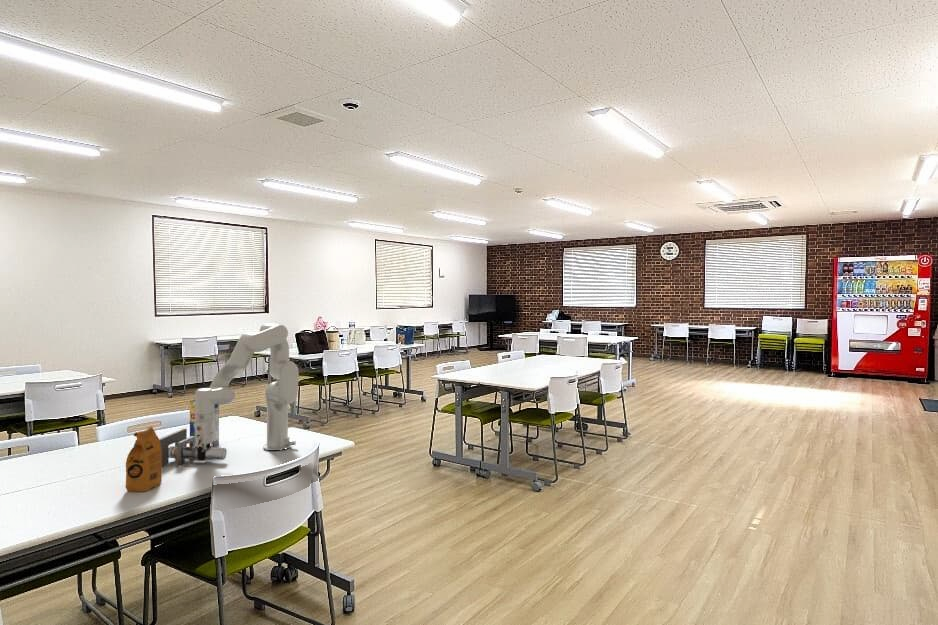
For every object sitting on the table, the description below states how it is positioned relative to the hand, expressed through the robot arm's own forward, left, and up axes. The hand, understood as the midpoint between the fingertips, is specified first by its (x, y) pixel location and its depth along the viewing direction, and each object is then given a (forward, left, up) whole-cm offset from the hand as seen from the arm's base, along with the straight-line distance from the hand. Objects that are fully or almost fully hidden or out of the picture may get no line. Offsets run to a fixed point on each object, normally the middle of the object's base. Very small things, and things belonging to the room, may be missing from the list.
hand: (204, 458), depth 244 cm
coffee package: (+6, +32, -2) cm, 33 cm away
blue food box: (+14, -26, -2) cm, 30 cm away
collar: (+8, 0, -2) cm, 9 cm away
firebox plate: (+15, 0, -2) cm, 15 cm away
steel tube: (+4, 0, 0) cm, 4 cm away
